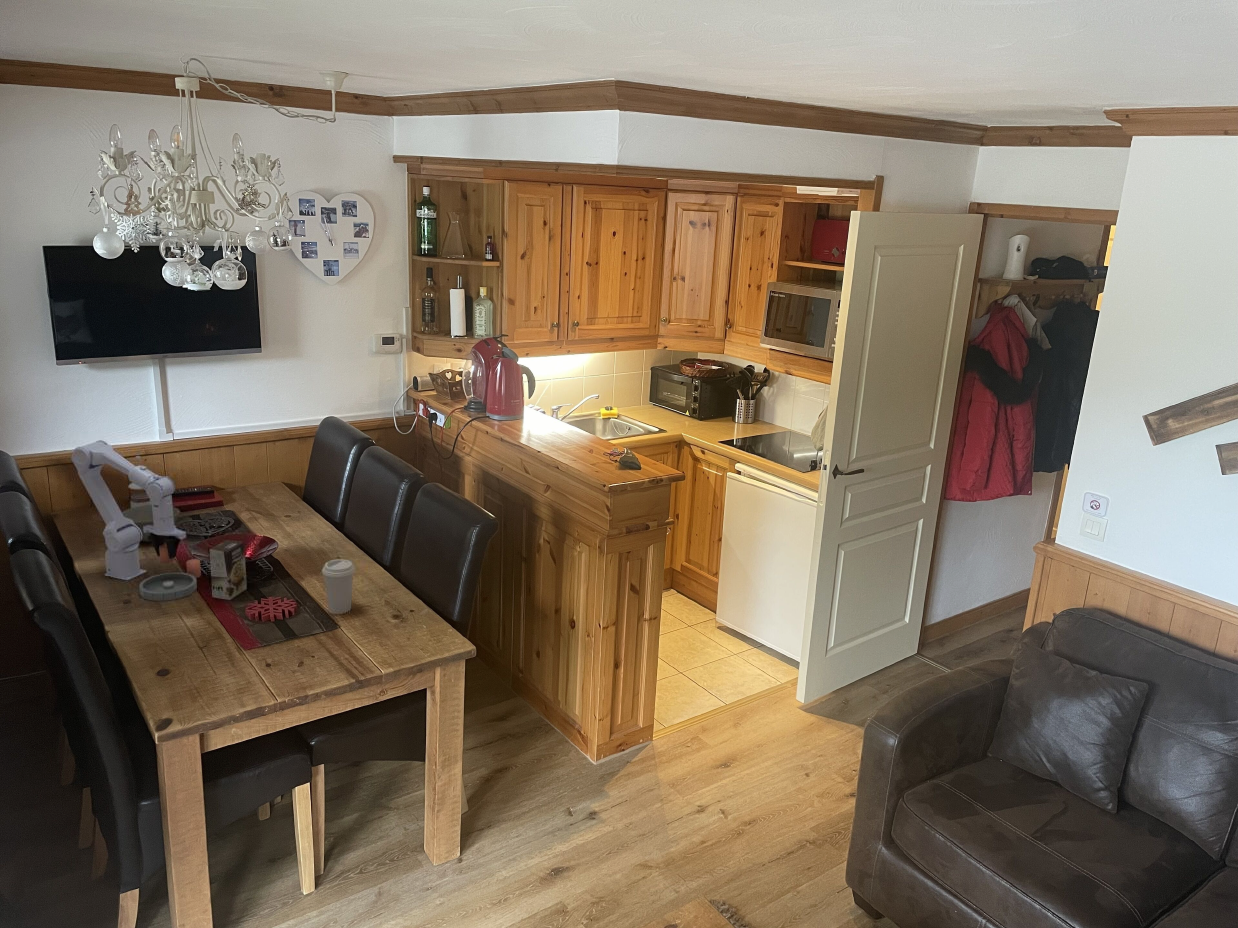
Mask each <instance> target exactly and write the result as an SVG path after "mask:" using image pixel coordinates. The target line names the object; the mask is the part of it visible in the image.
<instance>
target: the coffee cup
mask: <svg viewBox="0 0 1238 928" xmlns="http://www.w3.org/2000/svg"><path fill="white" fill-rule="evenodd" d="M355 571H356V568H355V566H354V564H353V562H352V561H351V560H348V559H337V558H336V559H332V560H329V561H327V562H325V564H324V566H323V568H322V569H321V572H322V574H323V576H324V577H323V578H324V585H325V591H326V601H327V608H328V612H329V613H330V614H333V615H344V614H343V613H345V614H347V613H349V612H350V611H351V610H352V597H353V582H354V581H353V580H354V572H355ZM348 611H349V612H348ZM346 612H347V613H346Z"/></svg>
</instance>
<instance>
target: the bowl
mask: <svg viewBox="0 0 1238 928" xmlns="http://www.w3.org/2000/svg"><path fill="white" fill-rule="evenodd" d="M121 512H122V514H123V516H124V517H125V518H128V519H131V520H133V522H134V524H135V525H136V526H137V527H139V528H140V530H141V532H142V540H141V541H140V542H147V543H151V542H150V541H149V540H148V536H150V534H151V533H149V532H148V533H144V531H143V527H144V526H147V525H151V526H154V523H153V512H152V505H145V506H139V507H134V508H131V507H130V508H128V509H127V508H126V510H124V511H121ZM180 512H181V511H180V510H179V509H178V508H177V507H174V506H173V518H174V525H175V523H176V522H177V520H178V518H179V516H180Z"/></svg>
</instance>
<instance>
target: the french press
mask: <svg viewBox="0 0 1238 928" xmlns="http://www.w3.org/2000/svg"><path fill="white" fill-rule="evenodd" d="M134 459H135V460H136V461H137V463H138V465H140V460H142V457H141V456H140V455H136V456H135V458H134ZM127 486H128V489H131V490H135V491H140V492H138V493H137V492H136V493H134V494H131V496H130V498H131V499H130V501H129V502H130V508H134V507H139V506H145V505H152V504H151V503H150V498H149V497H148V495H147V493H146V491H145V492H142V490H143V489H142V488H141V487H139V486H137V485H136V484H134V483H133V482H131V483H129V484H128V485H127Z"/></svg>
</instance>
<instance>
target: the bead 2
mask: <svg viewBox="0 0 1238 928" xmlns="http://www.w3.org/2000/svg"><path fill="white" fill-rule="evenodd" d="M186 573H187V574H191V575H193V576H195V577H196V579H197V578H198V579H199V578H200V577H201V576H202V571H201V560H200V559H198V558H192V559H187V561H186Z"/></svg>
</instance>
